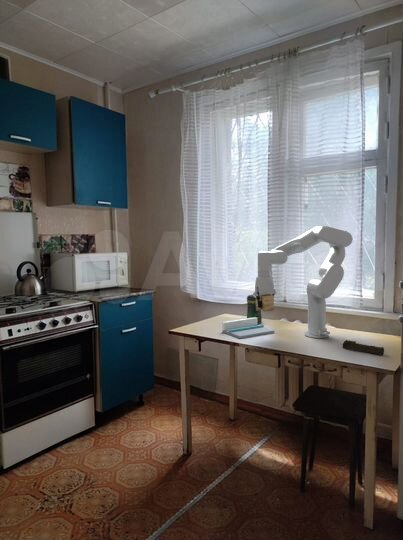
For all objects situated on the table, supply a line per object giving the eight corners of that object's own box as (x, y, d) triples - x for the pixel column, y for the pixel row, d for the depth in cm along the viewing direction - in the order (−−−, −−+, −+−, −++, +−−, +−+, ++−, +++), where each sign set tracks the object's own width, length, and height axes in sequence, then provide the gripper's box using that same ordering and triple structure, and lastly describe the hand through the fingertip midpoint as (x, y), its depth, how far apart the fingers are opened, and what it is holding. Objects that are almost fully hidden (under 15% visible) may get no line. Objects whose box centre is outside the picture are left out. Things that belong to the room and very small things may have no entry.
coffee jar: (254, 325, 243) (253, 296, 242) (244, 323, 249) (244, 294, 248) (264, 322, 250) (263, 294, 248) (254, 320, 256) (254, 293, 254)
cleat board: (274, 332, 223) (274, 322, 223) (240, 338, 211) (239, 328, 211) (255, 326, 239) (255, 317, 238) (222, 332, 227) (222, 322, 227)
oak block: (273, 310, 208) (273, 295, 207) (265, 311, 205) (265, 296, 204) (264, 308, 215) (264, 293, 214) (255, 309, 212) (255, 294, 211)
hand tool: (384, 354, 180) (385, 345, 180) (381, 356, 178) (382, 346, 177) (345, 347, 193) (345, 338, 193) (341, 349, 190) (341, 340, 190)
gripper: (272, 272, 216) (272, 304, 218) (247, 274, 207) (247, 307, 209) (281, 273, 209) (281, 306, 211) (256, 275, 201) (256, 309, 202)
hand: (264, 306), depth 210 cm, fingers closed on oak block, 6 cm apart
